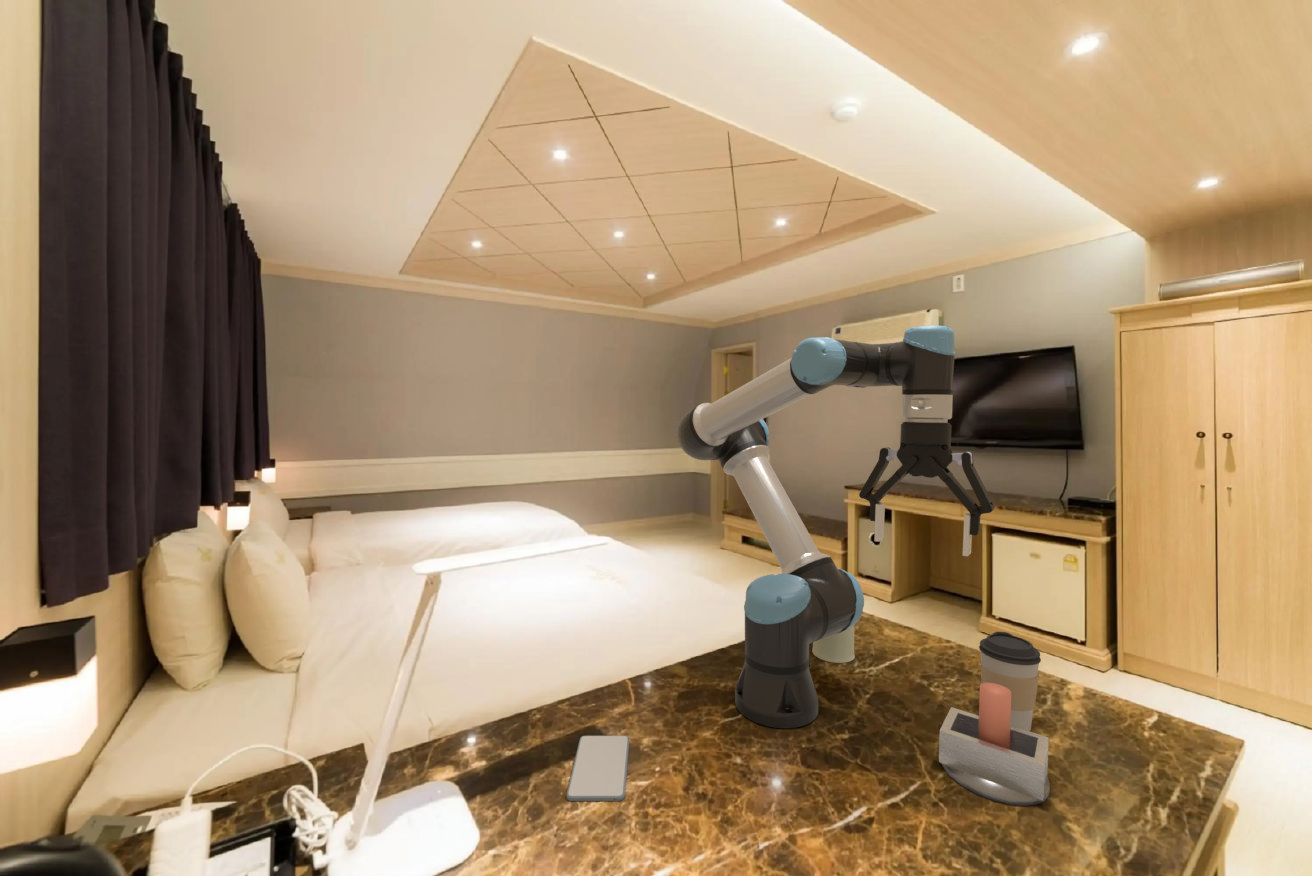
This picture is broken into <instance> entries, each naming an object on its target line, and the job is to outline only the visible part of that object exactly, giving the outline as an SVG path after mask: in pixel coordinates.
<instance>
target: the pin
mask: <svg viewBox="0 0 1312 876" xmlns="http://www.w3.org/2000/svg"><path fill="white" fill-rule="evenodd" d="M978 698H979V700H978V701H979V702H978V703H979V704H978V706H979V707H978V716H979V735H978V739H979V740H982V741H985V742H988V743H991V744H994V745H997V746H1000V747H1003V748H1006V749H1009V750H1010V719H1011V691H1010V690H1009V689H1008V688H1006V687H1004V686H1002V685H999V684H995V683H980V684H979V697H978Z"/></svg>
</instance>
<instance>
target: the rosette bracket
mask: <svg viewBox="0 0 1312 876" xmlns="http://www.w3.org/2000/svg"><path fill="white" fill-rule="evenodd" d="M978 735H979V714H978V715H977V714H975V713H972V712H968V711H965V710H962V709H958V708H955V707H950V709H949V711H948V713H947V714H946V716H945V718H944V720H943V722H942V725H941V727H940V729H939V737H938V739H939V741H938V743H939V745H938V762H939V763H940V764H941V766H942V768H943V770H944V771H945V773H946V774H947V775H948V776H949V777H950V778H951V779H953V781H955V782H956V783H957V784H959V785H960V786H962V787H963V788H964V789H966V790H968V791H969V792H971V793H974V795H975V794H976V795H978V796H980V797H982V798H984V799H987V800H991V801H992V802H996V803H1000V804H1004V805H1009V806H1014V807H1015V806H1017V807H1018V806H1019V807H1031V806H1036V805H1040V804H1042V803H1044V802H1045V801H1046V800H1047V799H1048V798H1049V797H1050V789H1051V788H1050V787H1051V786H1050V785H1051V784H1050V783H1051V782H1050V780H1049V777H1048V766H1049V765H1048V763H1049V736H1045V735H1042V734H1039V733H1035V732H1032V731H1031V730H1030V731H1026V730H1023V729H1020V728H1017V727H1013V726H1010V750H1009V749H1006V748H1003V747H1000V746H997V745H994V744H991V743H988V742H985V741H982V740H979V739H978Z"/></svg>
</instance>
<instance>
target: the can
mask: <svg viewBox="0 0 1312 876" xmlns="http://www.w3.org/2000/svg"><path fill="white" fill-rule="evenodd" d="M811 652H812V654H813V655H814V656H815V657H817V658H818V659H819V660H822V661H824V662H829V663H833V664H834V663H835V664H845V663H846V664H847V663H850V662H852V661H853V660H855V657H856V655H855V625H853V626H852V627H849V628H848V629H847V630H845V631H843V632H841V633H838V634H837V633H836V634H833V635H830V636H828V637H825V638H823V639H820V640H817V641H815V642H812V649H811Z"/></svg>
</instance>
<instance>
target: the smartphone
mask: <svg viewBox="0 0 1312 876" xmlns="http://www.w3.org/2000/svg"><path fill="white" fill-rule="evenodd" d="M629 747H630V737H629V736H628V735H582V736H581V737H580V738H579V741H578V745H577V748H576V749H577V750H576V752H575V757H574V762H573V766H572V769H571V774H570V778H569V779H570V780H569V782H568V785H567V791H566V800H568V802H621V801H623V800H624V799H625V797H626V784H627V773H628V760H629V750H630V749H629Z"/></svg>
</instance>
